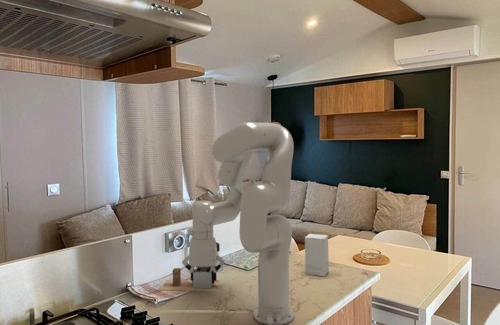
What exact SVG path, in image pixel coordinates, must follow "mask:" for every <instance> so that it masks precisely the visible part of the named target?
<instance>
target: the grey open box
mask: <svg viewBox="0 0 500 325" xmlns="http://www.w3.org/2000/svg"><path fill="white" fill-rule="evenodd" d="M201 268H207V272H200V269H201ZM194 269H195V270H194V272H193V289H212V286H213V284H212V272H213V270H212V268H211V267H195V268H194Z"/></svg>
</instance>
